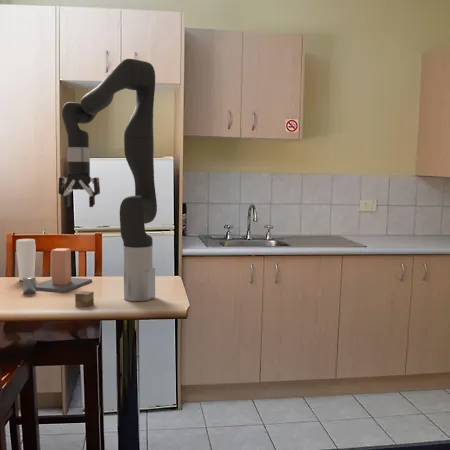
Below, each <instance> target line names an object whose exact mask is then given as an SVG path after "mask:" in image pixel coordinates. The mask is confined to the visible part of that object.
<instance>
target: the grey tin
mask: <svg viewBox="0 0 450 450" xmlns="http://www.w3.org/2000/svg"><path fill="white" fill-rule="evenodd" d="M36 280H37V279H36V277H35V276H34V277H25V278H23V281H22V292H23V293H22V294H23V295H34V294H37V293H36V292H37V290H36V284H37V282H36Z"/></svg>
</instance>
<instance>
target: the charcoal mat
mask: <svg viewBox="0 0 450 450" xmlns="http://www.w3.org/2000/svg"><path fill="white" fill-rule="evenodd" d="M91 283H93V279H92V278H83V277H82V278H81V277H80V278H78V277H71V282H70V283H68V284H52V278H51V279H47V280H45V281H42V282H38V283H36V291H43V292H54V293H55V292H56V293H67V292H70V291H72V290H75V289H77V288H80V287H82V286H85V285H87V284H91Z"/></svg>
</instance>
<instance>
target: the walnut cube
mask: <svg viewBox="0 0 450 450" xmlns="http://www.w3.org/2000/svg"><path fill="white" fill-rule="evenodd" d="M94 295H95V294H94V291H89V290H81V291H79V292H75V293H74V301H75V304H74V305H75V307H80V308H88V307H92V306H93V305H94V304H95V302H94V301H95V300H94Z"/></svg>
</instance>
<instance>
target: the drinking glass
mask: <svg viewBox="0 0 450 450" xmlns="http://www.w3.org/2000/svg"><path fill="white" fill-rule="evenodd" d="M15 243H16V244H15V249H16V250H15V251H16V259H17V266H18V267H17V269H18V277H19V280H20V281H22V282H23V278H25V277H35V267H36V266H35V265H36V264H35V263H36V253H37V252H36V249H37V248H36V239H34V238H20V239H19V238H18V239H16V241H15Z"/></svg>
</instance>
